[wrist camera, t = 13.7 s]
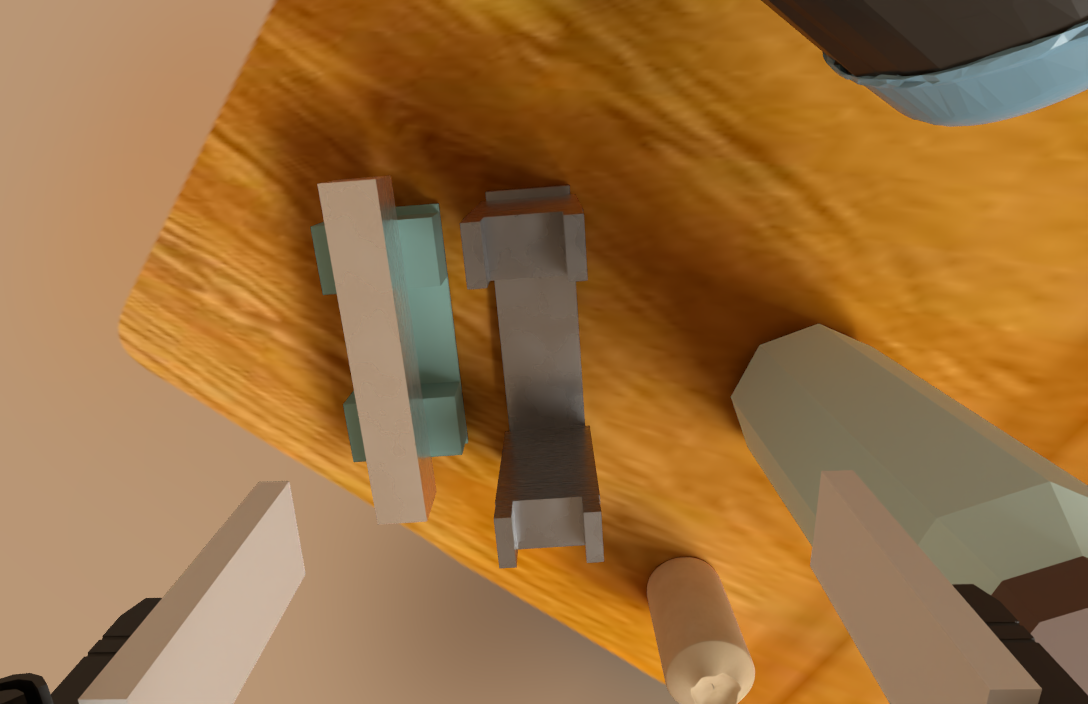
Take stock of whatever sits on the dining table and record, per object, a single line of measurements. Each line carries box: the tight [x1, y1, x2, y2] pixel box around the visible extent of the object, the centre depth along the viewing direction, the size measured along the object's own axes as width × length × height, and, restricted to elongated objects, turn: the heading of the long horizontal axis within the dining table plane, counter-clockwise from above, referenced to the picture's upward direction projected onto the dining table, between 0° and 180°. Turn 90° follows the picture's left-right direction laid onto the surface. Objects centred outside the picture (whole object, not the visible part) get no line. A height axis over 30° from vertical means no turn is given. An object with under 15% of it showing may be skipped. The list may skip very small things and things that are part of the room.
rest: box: [310, 203, 468, 462], centre depth 42 cm, size 16×7×3 cm, turn 4°
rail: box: [317, 175, 436, 525], centre depth 39 cm, size 20×3×4 cm, turn 4°
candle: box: [647, 557, 755, 704], centre depth 44 cm, size 6×6×10 cm
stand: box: [460, 185, 604, 568], centre depth 38 cm, size 19×6×12 cm, turn 4°
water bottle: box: [731, 323, 1088, 695], centre depth 32 cm, size 10×10×25 cm
